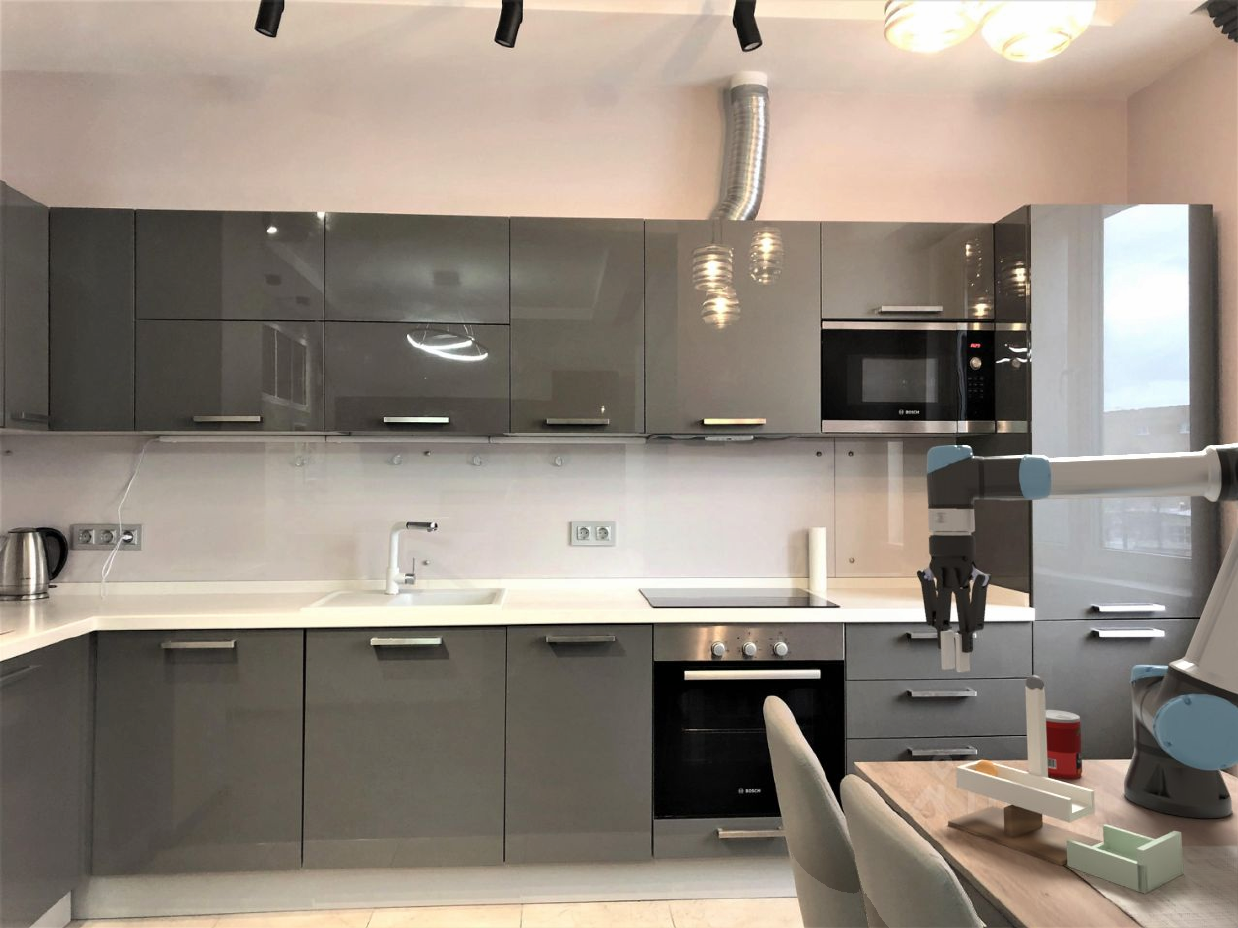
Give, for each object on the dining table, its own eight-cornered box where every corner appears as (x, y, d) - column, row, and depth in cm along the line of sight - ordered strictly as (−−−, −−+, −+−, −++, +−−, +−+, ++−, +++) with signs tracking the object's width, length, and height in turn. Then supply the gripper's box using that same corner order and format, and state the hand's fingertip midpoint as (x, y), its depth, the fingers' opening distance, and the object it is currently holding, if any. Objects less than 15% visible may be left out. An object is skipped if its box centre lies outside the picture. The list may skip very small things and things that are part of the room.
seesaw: (956, 787, 130) (953, 671, 131) (990, 776, 135) (986, 665, 136) (1069, 822, 115) (1064, 691, 116) (1102, 809, 120) (1097, 684, 121)
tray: (1067, 865, 113) (1065, 825, 114) (1106, 848, 119) (1105, 810, 119) (1145, 893, 105) (1143, 850, 105) (1183, 873, 111) (1181, 832, 111)
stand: (948, 824, 128) (947, 793, 129) (992, 809, 135) (991, 780, 135) (1061, 865, 113) (1060, 830, 114) (1105, 846, 120) (1103, 813, 120)
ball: (994, 777, 131) (993, 757, 131) (999, 784, 128) (999, 763, 128) (973, 776, 131) (972, 756, 132) (978, 783, 128) (977, 762, 128)
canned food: (1088, 780, 149) (1086, 720, 150) (1042, 777, 151) (1039, 718, 151) (1074, 767, 157) (1072, 710, 157) (1029, 765, 158) (1027, 708, 159)
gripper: (901, 533, 145) (904, 665, 144) (978, 535, 133) (983, 679, 131) (927, 532, 149) (931, 661, 148) (1005, 534, 137) (1009, 674, 135)
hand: (955, 669), depth 140 cm, fingers open, 2 cm apart
